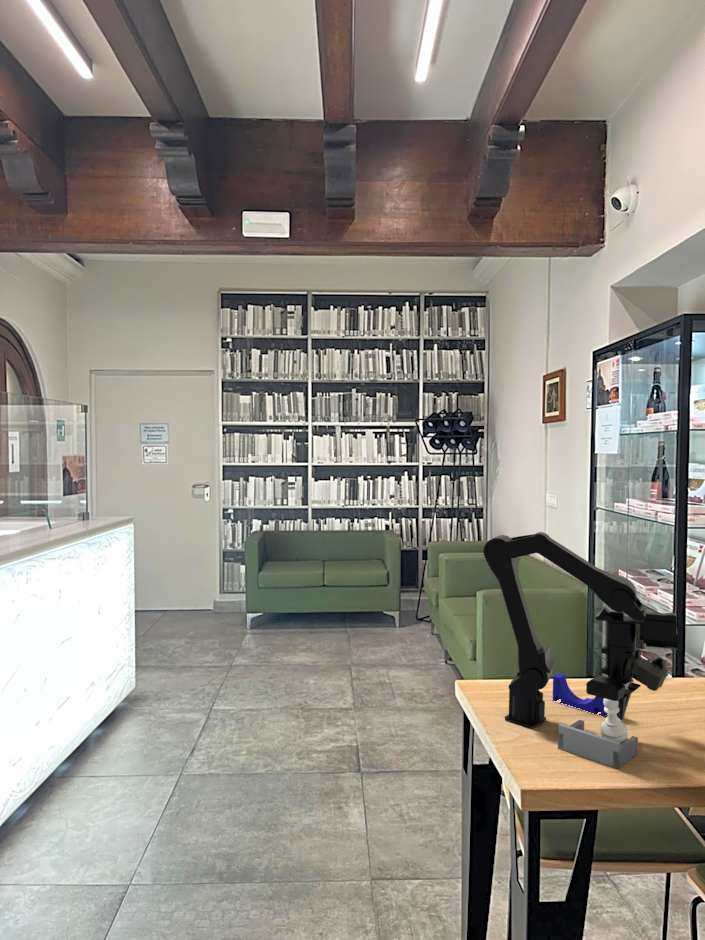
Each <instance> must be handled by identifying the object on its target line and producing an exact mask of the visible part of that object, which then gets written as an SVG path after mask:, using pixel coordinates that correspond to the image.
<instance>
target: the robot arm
mask: <svg viewBox="0 0 705 940" xmlns="http://www.w3.org/2000/svg"><path fill="white" fill-rule="evenodd" d="M482 552H483V556H484V557H483V558H484V559H485V561H486V563H487V565H488V567H489V569H490V571H491V573H492V574H493V575H494V577H495V579H496V580H497V581H498V584H499V586H500V590H501V593H502V597H503V600H504V603H505V607H506V611H507V614H508V617H509V620H510V624H511V626H512V630H513V633H514V637H515V640H516V644H517V659H518V660H517V665H518V671H517V673H515V675H514V676H513V678H512V680H510V683H509V684H508V690H509V691H508V692H509V693H508V695H509V696H508V714H507V715H505V716H504V720H505V721H509V722H511V723H514V724H518V725H521V726H524V727H527V728H528V729H529V728H530V729H533V728H534V727H536V726H538V725H540V724H541V723H543V722H545V721H546V720H547V717H546V716H545V709H546V706H545V705H546V702H545V700H544V693H543V692H542V691H540V690H542V689H544V688H545V687H546V686H547V684H548V683H549V680H550V678H551V677H552V674H553V668H554V666H555V664H556V663H555V662H554V660H553V658H552V656H551V649H550V645H546V646H543V645H542V644H541V642H539V640H538V637H537V634H536V630H535V628H534V624H533V621H532V617H531V614H530V611H529V606H528V604H527V601H526V597H525V593H524V591H523V587H522V585H521V584H522V583H521V581H520V577H519V559H518V558H520V557H525V556H528V555H532V554H533V555H534V554H539V555H540V556H542V557H543V558H545V559H546V560H547V561H549V562H551V563H552V564H554V565H556V566H557V567H558V568H560V569H561V570H563V571H565V572H566V573H567V574H568V575H571V576H572V577H574V578H575V579H577V580H579V581H580V582H581V583H583V584H584V585H586V586H587V587H588V588H589V589H590V590H591V591H592V592H593V593H594V594H595V595H596V597H598V598H599V599H600V600H601V601H602V602H603V603H604V604H605V605H606V606H603V607H602V609H601V610H600V611H598V612H596V615H595V617H594V618H595V620H596V621H603V622H605V623H604V624H605V627H604V629H605V631H604V633H605V635H604V637H605V639H604V640H605V641H604V642H605V643H604V644H605V645H604V646H603V647H601V650H600V651H601V652H600V653H601V654H604V666H603V667H601V668H600V673H601V674H603V675H600V674H597V675H596V676H594V677H593V678H591V679H590V680H589V681H587V682H586V683H585V685H586V686H585V687H586V690H585V691H586V694H587V695H591V696H594V697H596V696H597V697H601V698H605V699H609V700H613V701H618V702H619V705H618V707H619V712H618V713H617V717H618V718H619V719H620V720H621V722H622V721H623V720H624V717H625V714H626V712H627V707H628V704H629V701H630V698H631V696H632V693H634V692H635V691H637V690H638V689H639V688H641V686H642V685H644V686H646V687H647V689H648V690H650V691H653V692H657V691H658V690H659V689H660V688H662V687H663V685H664V683H665V680H666V678H667V677H668V676H669V673H668V672H669V669H667V662H666V659H664V658H661V657H659V656H658V657H656V658H655V659H654V660H652V661H651V659H650V658H647V659H645V658H644V657H642V651H641V650H640V649H641V648H640V647H637V625H639V641H641V642H642V644H645V647H648V648H649V647H650V648H658V649H665V650H666V649H667V650H676V651H678V639H679V637H678V635H679V634H678V627H677V614H676V612H665V613H663V612H662V613H661V612H654V611H653V612H651V611H647V608H646V606H645V605H644V604H643V603H642V602H641V600H640V599H639V598H638V596H637V595H638V591H637V588H636V586H635V585H634V583H633V581H631V580H629V579H627V578H624V577H623V576H621V575H618V574H615V573H613V572H610V571H607V570H604V569H602V568H600V567H597V566H595V565H594V564H592V563H591V562H590V561H588V560H586V559H585V558H584V557H583V558H582V557H581V556H580V555H578V554H576V553H575V552H574V551H572V550H570V549H569V548H567V547H566V546H564V545H563V544H561V543H559V542H558V541H556V540H555V539H553V538H552V537H550V536H549V534H547V533H545V532H543V531H538V532H536V533H533V534H527V535H519V536H513V537H510V536H508V535H505V534H502V535H501V534H499V535H497V536H495V537H492V538H491V539H489V540H488V541H487V542H486V543H485V545H484V546H483V550H482ZM607 607H608V608H610V609H608V608H607ZM625 614H626V615H625ZM604 675H607V676H604ZM635 681H637V682H639V683H635Z"/></svg>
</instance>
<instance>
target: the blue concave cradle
mask: <svg viewBox="0 0 705 940" xmlns="http://www.w3.org/2000/svg"><path fill="white" fill-rule="evenodd" d="M559 699H561V702H560V703H563V704H567V705H570V706H573V707H576V708H580V709H582V710H585V711H588V712H591V713H590V714H592V713H594V714H593V715H595V714H597V713H598V712H601V714H599V715H601V716H603V717H602V718H605V717H606V716H608V715H607V714H608V713H606V712H605V711H604V707H605V706H604V703H603V700H604V698H601V697H597V696H594V698H588V697H586V698H585V699H582V698H580V697H578V695H576V694H575V693H574V692H573V691H572V690H571V688H570V686H569V684H568V681H567V675H566V674H564V673H561V672H560V673H557V674H554V675H553V676H552V702H553V701H557V700H559ZM582 710H581V711H582ZM585 711H584V712H585ZM588 712H587V713H588ZM605 715H606V716H605ZM601 716H600V717H601ZM604 716H605V717H604Z"/></svg>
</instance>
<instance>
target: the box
mask: <svg viewBox="0 0 705 940" xmlns="http://www.w3.org/2000/svg"><path fill="white" fill-rule="evenodd" d="M557 734H558V737H557V749H559V748H560V749H559V750H561V751H565V752H567V751H568V753H570V752H571V754H574V755H577V756H580V757H582V758H585V759H589V760H591V761H594V762H597V763H600V764H603V765H605V766H607V767H611V768H614V769H617V770H619V769H620V768H622V766H624V765H625V764H626V763H627V762H628V761H630V760H632V758H634V756H636V755H637V754H638V751H639V750H638V749H639V747H638V746H639V745H638V744H639V737H637V736H635V735H632V736H631V737H629V738H628V739H626V740H625V741H623V742H617V741H614V740H611V739H608V738H605V737H602V736H601V735H599V734H595V733H593V732H589V731H585V721H584V720H582V719H578V720H577V721H575V722H573V723H572V724H570V725H567V724H564V723H560V724H558V733H557Z"/></svg>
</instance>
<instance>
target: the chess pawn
mask: <svg viewBox="0 0 705 940" xmlns="http://www.w3.org/2000/svg"><path fill="white" fill-rule="evenodd" d="M603 703H604V706H605V707H604V711H605V712H606V713H608V715H607V716H606V718H605V720H604V722H602V723H601V725H600V736H602V737H605V738H608V739H611V740H614V741H617V742H621V743H624V742H625V741H627V740H628V739H627V738H628V736H629V734H628V727H627V725H626V724H625V723H624V722H622V721H621V720H620V719H619V718H618V717H617V713H618V712H619V707H618V705H619V702H618V701H613V700H609V699H605V698H604V700H603Z"/></svg>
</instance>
